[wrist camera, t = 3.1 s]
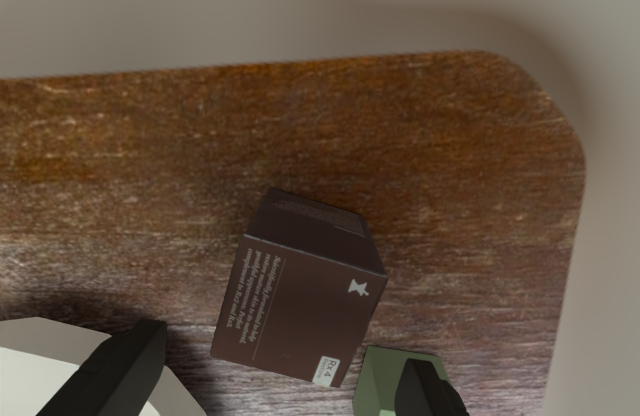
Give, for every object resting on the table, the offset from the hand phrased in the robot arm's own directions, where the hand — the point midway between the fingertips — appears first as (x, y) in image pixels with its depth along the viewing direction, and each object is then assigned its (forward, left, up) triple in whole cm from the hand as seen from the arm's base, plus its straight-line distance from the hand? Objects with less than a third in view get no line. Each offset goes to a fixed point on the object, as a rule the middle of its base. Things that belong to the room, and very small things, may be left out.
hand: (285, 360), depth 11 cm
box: (0, 0, -10) cm, 10 cm away
